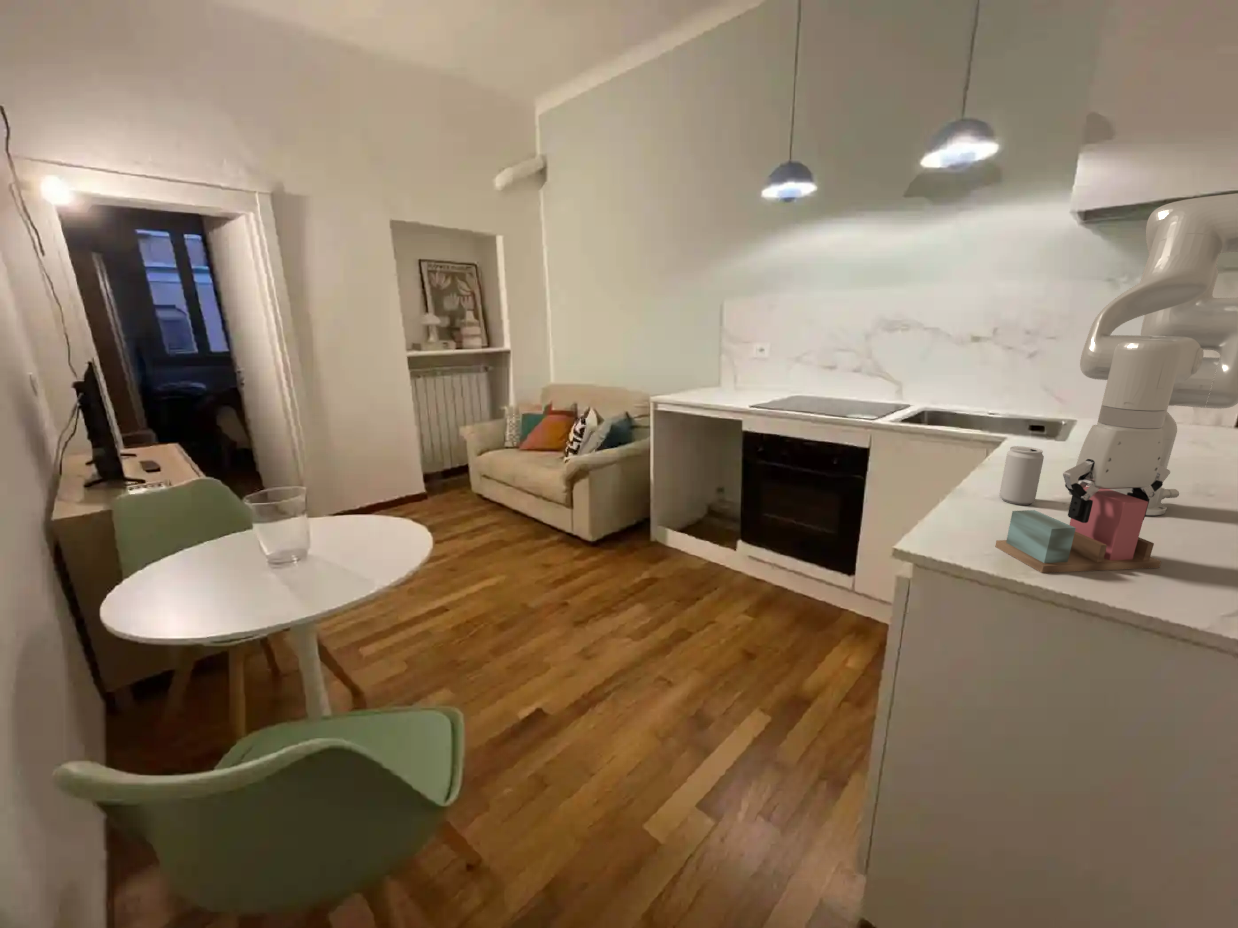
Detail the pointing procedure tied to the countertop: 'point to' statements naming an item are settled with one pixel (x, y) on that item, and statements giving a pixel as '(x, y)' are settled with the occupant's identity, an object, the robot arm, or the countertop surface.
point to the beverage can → (1021, 475)
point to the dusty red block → (1114, 522)
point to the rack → (1064, 546)
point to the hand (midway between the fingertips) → (1104, 518)
